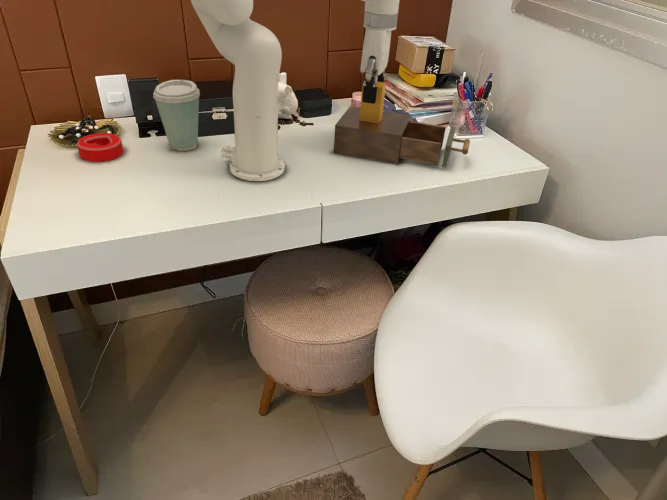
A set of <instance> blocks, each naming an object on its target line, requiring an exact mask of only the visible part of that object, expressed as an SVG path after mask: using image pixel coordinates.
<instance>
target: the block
mask: <svg viewBox="0 0 667 500" xmlns="http://www.w3.org/2000/svg"><path fill="white" fill-rule="evenodd" d="M361 85H362V86H361V96H360V97H361V98H360V107H359V108H360V119H359V121H365V122H372V123H378V124H379V122H380V121H381V119H382V115H383V111H384V107H385V96H386V95H385V94H386V86H387V82H385V81H384V82H377V83H376V87H377V94H376V102H375V104H372V103H365V102H362V97H363V86H364V82H363V83H362V84H361Z"/></svg>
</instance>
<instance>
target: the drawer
mask: <svg viewBox="0 0 667 500" xmlns="http://www.w3.org/2000/svg"><path fill="white" fill-rule="evenodd" d="M446 128H447V126H444V125H437V124H431V123H425V122H419V121H412V120H410V121H409V123H408V125H407V127H406V129H405V131H404V133H403V136H402V139H401V146H400V153H399V158H400V160H401V159H402V160H408V161H413V162H420V163H424V164H425V163H426V164H430V165H431V164H432V165H438V162H439V159H440V155H441V152H442V148H443V145H444V139H445V134H446ZM456 128H457V127H456V126H454V125H451V126H450V128H449V132H448V136H447V138H446V142H445V147H444V151H443V157H442V163H441V168H443V169H447V167H448V163H449V160H450V156H451V152H452V151H453V152H459V153H461V154H463V155H465V156H466V155H468V153H469V150H470V149H469V148H470V144H471V140H470V138H465V139H461V138H455V132H456ZM454 142H457V143H461V144H463V146H462V148H458V147H453V143H454Z"/></svg>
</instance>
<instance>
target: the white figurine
mask: <svg viewBox="0 0 667 500" xmlns="http://www.w3.org/2000/svg"><path fill="white" fill-rule="evenodd" d="M298 101H299V100H298V99H297V96H296V94H295V92H294V91H293V88H292V87H291V86H290V85H288V84H287V72H281V73H280V72H279V79H278V119H284V120H285V119H286V120H290V119H292V118H293V116H292V115H293V114H294V113H296V112H297V111H298V108H299V102H298Z"/></svg>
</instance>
